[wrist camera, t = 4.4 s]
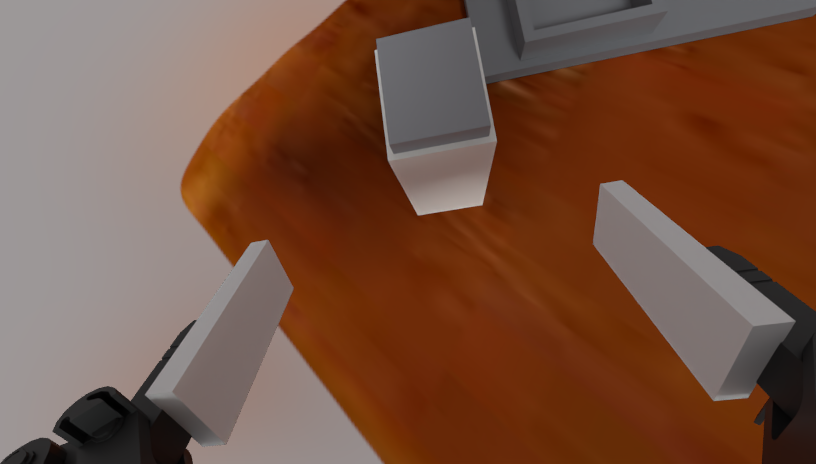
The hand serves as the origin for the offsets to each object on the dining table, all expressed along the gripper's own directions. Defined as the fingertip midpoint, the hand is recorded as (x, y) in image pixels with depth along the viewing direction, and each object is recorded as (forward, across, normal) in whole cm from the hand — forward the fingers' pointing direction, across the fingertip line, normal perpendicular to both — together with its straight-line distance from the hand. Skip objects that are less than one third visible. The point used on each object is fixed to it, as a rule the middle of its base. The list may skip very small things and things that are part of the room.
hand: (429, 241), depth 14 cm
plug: (+14, +1, -3) cm, 14 cm away
